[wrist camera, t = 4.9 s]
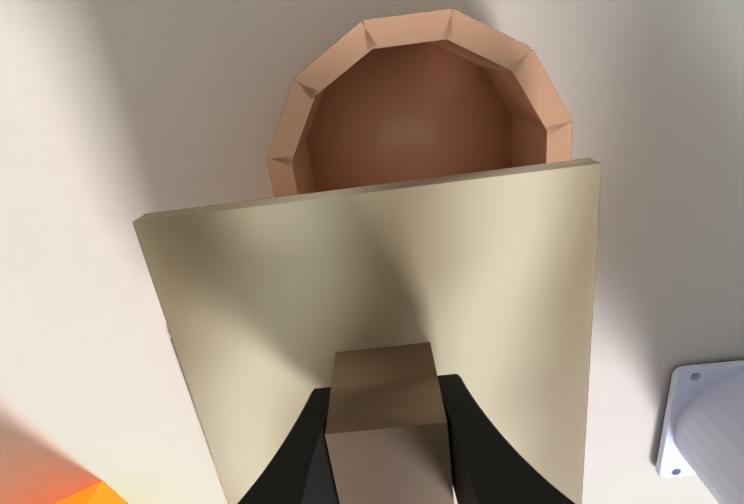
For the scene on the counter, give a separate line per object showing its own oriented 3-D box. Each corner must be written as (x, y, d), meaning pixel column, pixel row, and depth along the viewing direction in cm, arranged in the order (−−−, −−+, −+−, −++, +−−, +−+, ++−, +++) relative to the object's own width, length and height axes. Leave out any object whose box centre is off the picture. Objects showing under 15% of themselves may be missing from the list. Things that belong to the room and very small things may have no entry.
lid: (588, 158, 13) (684, 196, 9) (572, 491, 18) (630, 613, 14) (145, 213, 14) (50, 273, 10) (246, 520, 18) (210, 646, 14)
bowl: (525, 7, 18) (580, -9, 13) (522, 243, 22) (563, 294, 17) (273, 41, 18) (240, 36, 14) (315, 265, 22) (300, 321, 18)
